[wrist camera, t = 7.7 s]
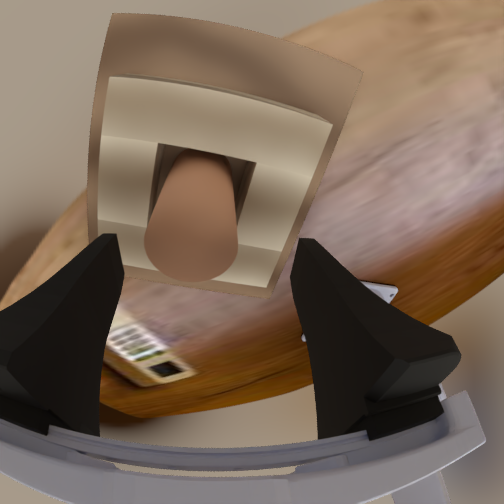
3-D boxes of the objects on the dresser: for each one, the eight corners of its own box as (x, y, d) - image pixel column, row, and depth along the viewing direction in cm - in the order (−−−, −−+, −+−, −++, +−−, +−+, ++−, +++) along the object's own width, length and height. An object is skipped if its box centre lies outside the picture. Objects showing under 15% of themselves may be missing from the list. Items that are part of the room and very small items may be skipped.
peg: (222, 206, 20) (224, 288, 14) (166, 194, 19) (140, 272, 13) (239, 153, 18) (250, 216, 11) (178, 139, 17) (149, 195, 10)
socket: (267, 291, 27) (274, 324, 23) (94, 262, 23) (80, 294, 20) (357, 70, 15) (386, 76, 12) (117, 15, 12) (93, 6, 8)
